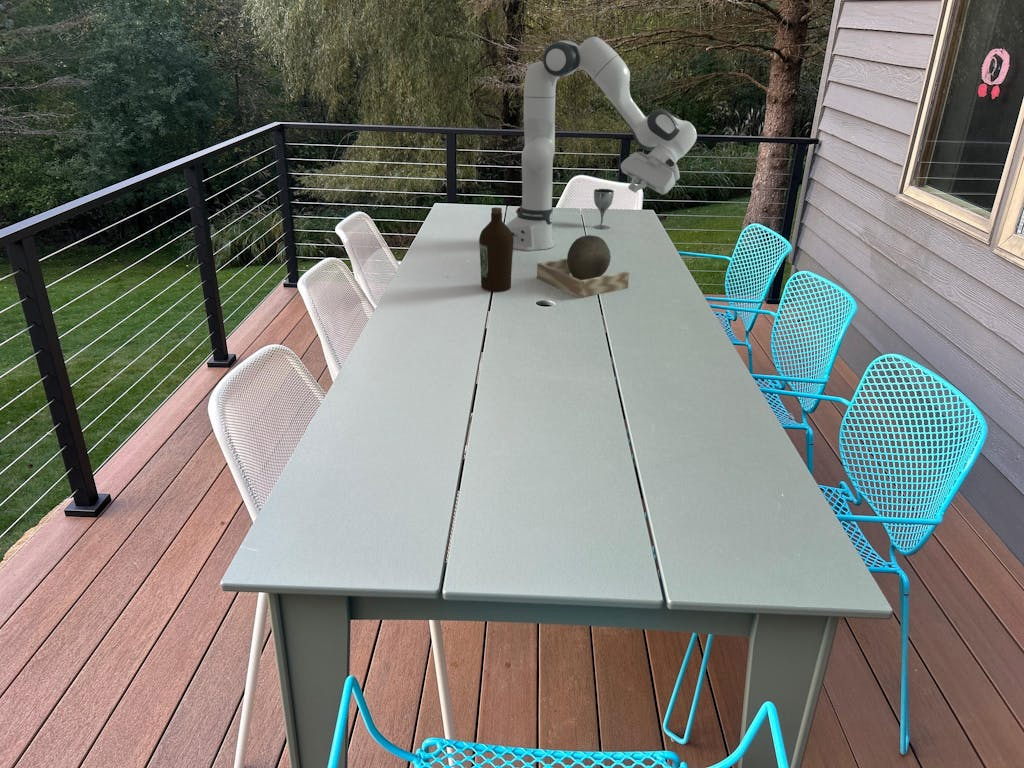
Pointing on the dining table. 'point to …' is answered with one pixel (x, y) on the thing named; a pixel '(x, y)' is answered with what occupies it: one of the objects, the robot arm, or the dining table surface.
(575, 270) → the cantaloupe
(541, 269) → the box
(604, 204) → the wine glass
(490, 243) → the olive oil
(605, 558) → the dining table surface
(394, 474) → the dining table surface
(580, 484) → the dining table surface
